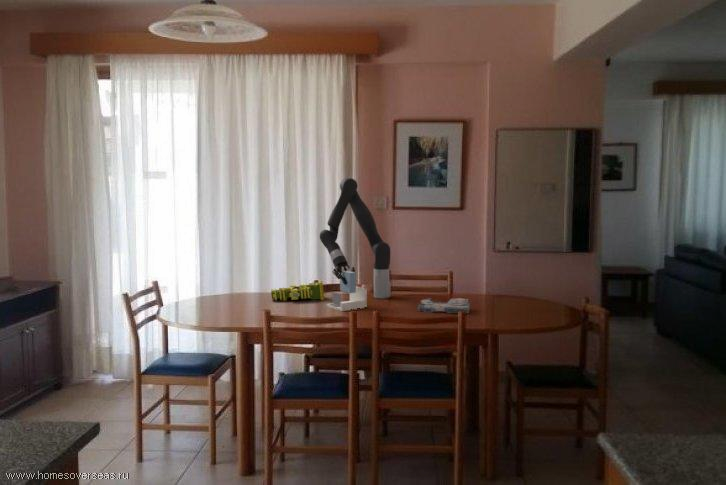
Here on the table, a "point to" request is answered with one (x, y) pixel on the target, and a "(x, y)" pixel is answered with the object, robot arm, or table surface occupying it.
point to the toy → (299, 292)
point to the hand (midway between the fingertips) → (349, 283)
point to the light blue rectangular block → (349, 282)
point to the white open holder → (355, 300)
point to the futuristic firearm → (444, 306)
